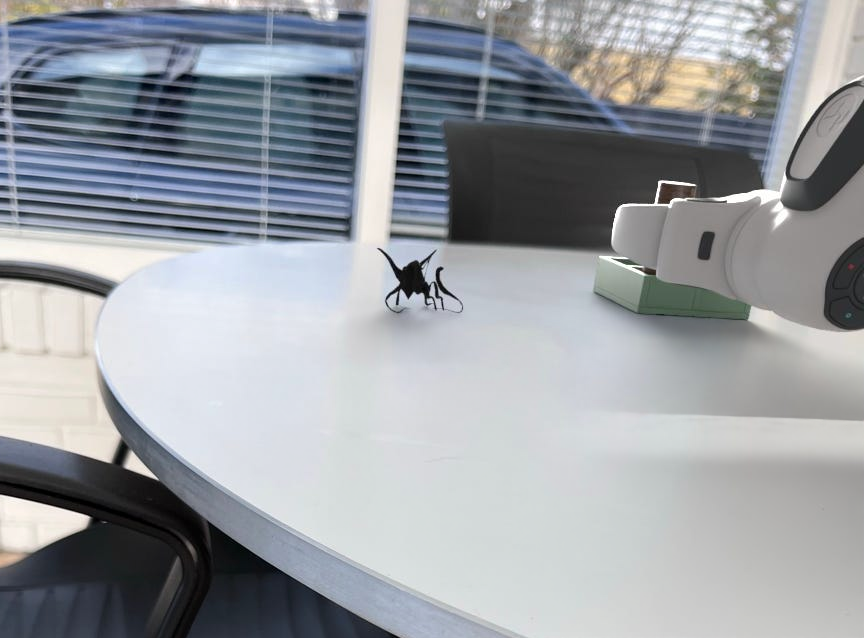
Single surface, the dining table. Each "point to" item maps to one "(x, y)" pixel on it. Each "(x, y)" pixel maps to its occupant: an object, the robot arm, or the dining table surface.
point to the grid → (660, 293)
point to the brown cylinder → (666, 195)
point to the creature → (417, 282)
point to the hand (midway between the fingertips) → (690, 227)
